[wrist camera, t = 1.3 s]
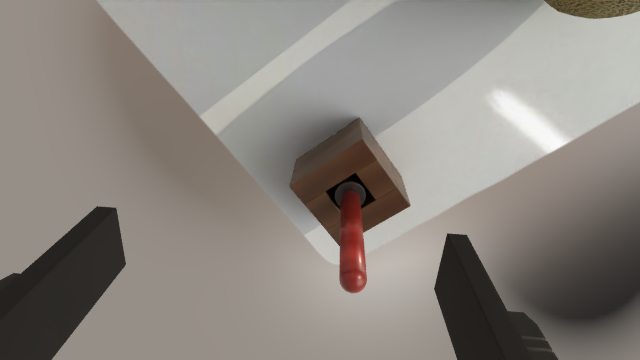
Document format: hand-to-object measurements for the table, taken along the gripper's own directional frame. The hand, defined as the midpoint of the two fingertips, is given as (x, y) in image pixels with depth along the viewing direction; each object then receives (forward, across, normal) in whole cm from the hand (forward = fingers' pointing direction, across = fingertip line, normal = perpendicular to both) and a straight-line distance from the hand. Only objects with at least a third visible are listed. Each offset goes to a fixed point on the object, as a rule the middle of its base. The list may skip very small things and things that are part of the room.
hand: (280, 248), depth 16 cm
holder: (+30, +4, -9) cm, 32 cm away
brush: (+30, +4, -9) cm, 32 cm away
